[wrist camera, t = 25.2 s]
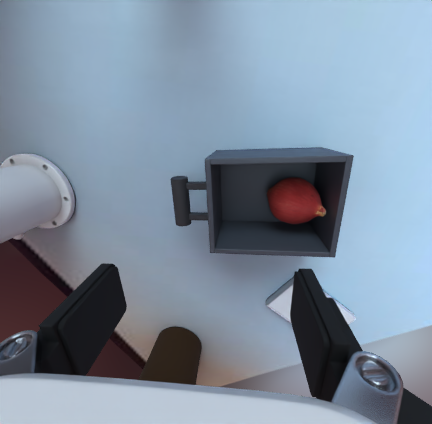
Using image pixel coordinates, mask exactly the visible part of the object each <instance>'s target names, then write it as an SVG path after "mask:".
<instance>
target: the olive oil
mask: <svg viewBox="0 0 432 424" xmlns="http://www.w3.org/2000/svg"><path fill="white" fill-rule="evenodd" d="M200 354H201V342H200V340H199V338H198V337H197V336H196V335H195V334H194V333H192V332H191V331H189V330H187V329H184V328H180V327H170V328H167V329H165V330H163V331H162V332H161V333H160V334H159V336H158V338H157V340H156V342H155V345H154V347H153V349H152V351H151V354H150V356H149V358H148V360H147V362H146V365H145V367H144V369H143V371H142V373H141V376H140V377H139V379H138V380H142V381H154V382H166V383H178V384H189V385H196V378H197V372H198V366H199V360H200Z"/></svg>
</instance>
